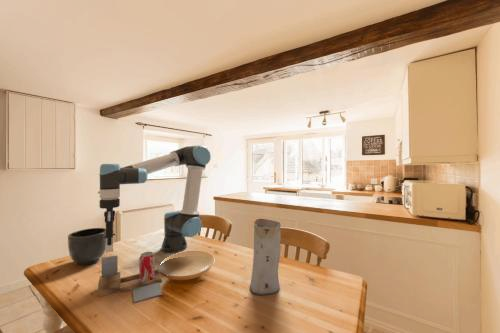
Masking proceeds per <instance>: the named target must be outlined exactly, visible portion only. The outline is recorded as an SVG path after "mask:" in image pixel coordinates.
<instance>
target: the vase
mask: <svg viewBox="0 0 500 333" xmlns="http://www.w3.org/2000/svg"><path fill="white" fill-rule="evenodd" d="M281 228H282V227H281V222H280V221H276V220H272V219H267V218H258V219H256V220H254V222H253V258H252V260H253V261H252V270H251V271H252V272H251V278H250V285H249V290H250V291H251V292H252V295H257V296H265V295H273V294H276V293H278V292H280V288H281V287H280V280H279V266H280V265H279V264H280V259H281V258H280V256H281V236H282V234H281Z"/></svg>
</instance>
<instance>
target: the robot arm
mask: <svg viewBox="0 0 500 333" xmlns="http://www.w3.org/2000/svg"><path fill="white" fill-rule="evenodd" d="M211 157H212V156H211V152H210V150H209V149H208V147H206V146H204V145H192V146H191V145H190V146H184V147H181V148H179V149H176V150H173V151H170V152H169V154H165V155H161V156H158V157H155V158H151V159H147V160H143V161H140V162H137V163H134V164H130V165H126V166H122V167H121V165H120V164H119V163H102V164H101V165H100V166H99V174H98V175H99V191H97V194H99V209H104V210H105V211H104V212H103V217H104V223H105V229H106V236H105V237H104V238H106V250H105V254H106V253H112V252H114V236H115V235H116V233H114V221H115V216H116V210H114V209H115V208H116V209H117V208H119V207H120V205H121V204H120V201H121V200H120V196H121V185H136V184H138V185H139V184H144V183H146V182H147V180H148V175H149V174H153V173H155V172H158V171H162V170H164V169H167V168H171V167H173V166H174V167H179V166H184V165H185V167H186V168H187V174H186V182H185V189H184V193H183V194H184V195H183V201H182V209H180V210H172V211H169V212H166V213H165V214H164V215H163V216H164V217H163V220H164V221H163V223H164V238H163V241H162V244H161V252H163V253H177V252H181V251H184V250H186V249H187V247H188V242H187V239H186V238H194V237H196V236H197V235H198V234H199V233H200V231H201V229H202V226H203V222H202V220H201V219H200V212H199V211H198V207H199V205H198V204H199V198H200V192H201V191H200V190H201V182H202V177H203V171H204V170H205V169H206V167H207V165H208V164H209V163H210V161H211Z"/></svg>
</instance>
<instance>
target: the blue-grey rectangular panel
mask: <svg viewBox="0 0 500 333" xmlns="http://www.w3.org/2000/svg"><path fill="white" fill-rule="evenodd" d="M118 258H119V257H118V254H116V255H112V256H107V257H101V275H99V278H106V277H110V276H115V275H118V274H119V272H120V271H118V265H119V264H118V262H119V261H118Z"/></svg>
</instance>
